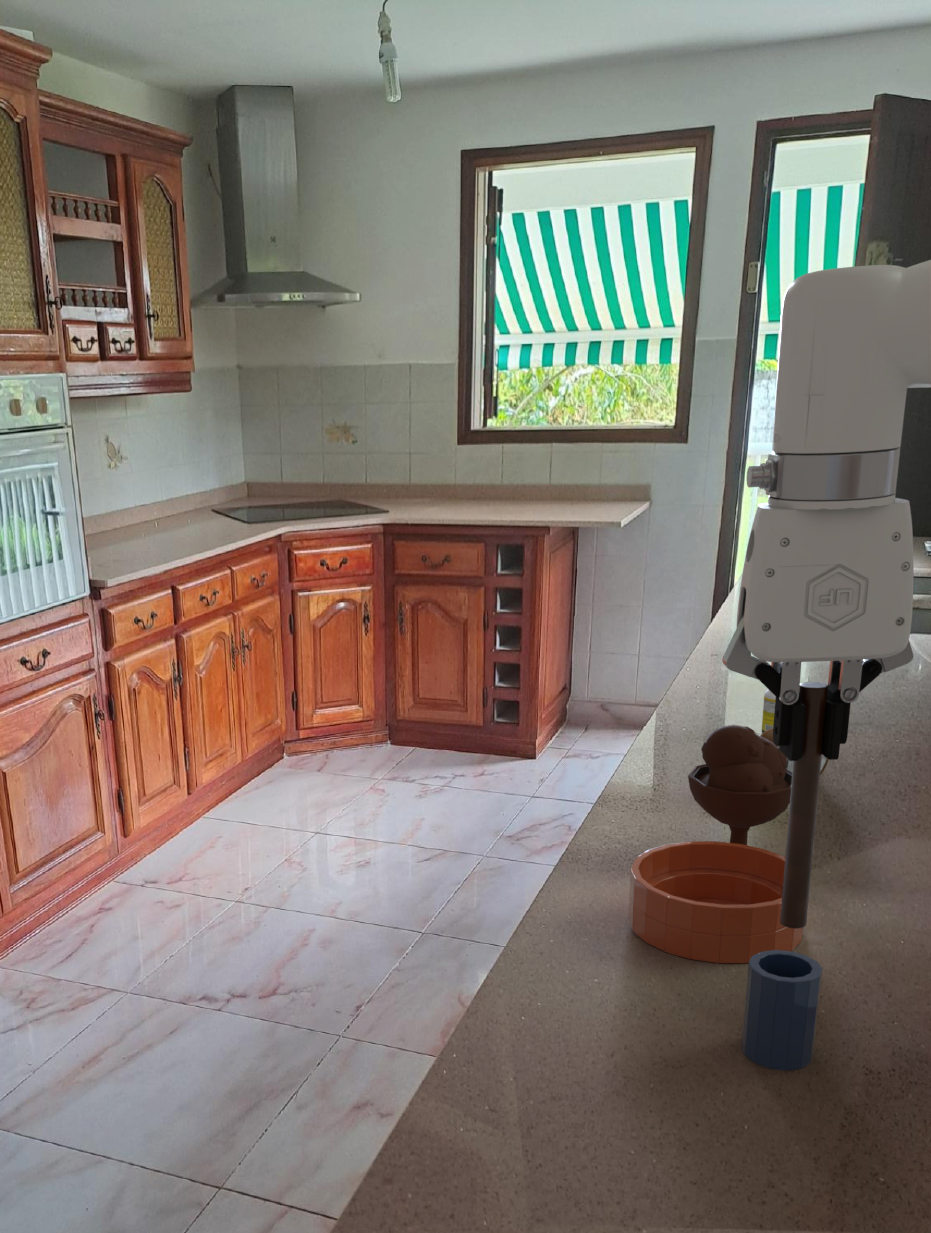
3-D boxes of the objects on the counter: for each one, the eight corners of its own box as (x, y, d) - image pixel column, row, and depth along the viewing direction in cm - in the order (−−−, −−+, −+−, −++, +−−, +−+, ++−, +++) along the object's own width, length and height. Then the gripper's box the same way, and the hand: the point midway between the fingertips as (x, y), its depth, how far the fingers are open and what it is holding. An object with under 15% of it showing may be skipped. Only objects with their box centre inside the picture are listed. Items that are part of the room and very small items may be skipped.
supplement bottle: (791, 730, 166) (797, 673, 163) (801, 740, 162) (806, 681, 159) (757, 731, 167) (761, 674, 164) (765, 741, 162) (770, 682, 159)
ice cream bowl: (761, 889, 117) (774, 747, 112) (663, 861, 125) (671, 727, 120) (811, 858, 124) (825, 722, 118) (715, 833, 131) (724, 705, 126)
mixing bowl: (776, 896, 115) (781, 840, 113) (823, 969, 101) (830, 907, 99) (618, 897, 117) (620, 842, 115) (643, 969, 103) (646, 908, 101)
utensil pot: (800, 1041, 91) (810, 949, 88) (820, 1077, 86) (831, 982, 83) (734, 1040, 91) (742, 949, 89) (750, 1076, 87) (759, 982, 84)
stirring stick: (802, 918, 86) (823, 680, 80) (809, 928, 84) (832, 687, 78) (776, 918, 86) (796, 681, 80) (783, 929, 84) (804, 688, 78)
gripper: (717, 492, 72) (702, 775, 78) (988, 477, 70) (949, 768, 76) (693, 482, 78) (680, 742, 85) (938, 468, 77) (906, 735, 83)
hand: (808, 752), depth 81 cm, fingers closed on stirring stick, 1 cm apart
